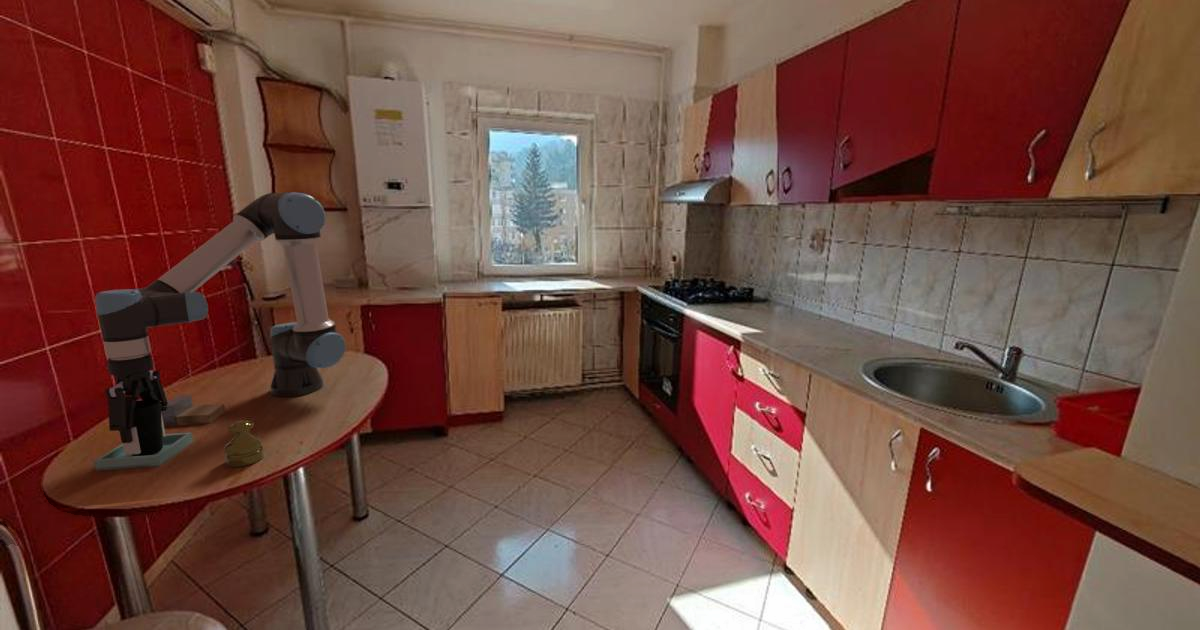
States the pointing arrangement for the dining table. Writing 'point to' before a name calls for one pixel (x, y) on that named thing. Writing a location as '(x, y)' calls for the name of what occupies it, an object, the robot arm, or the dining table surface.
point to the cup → (148, 426)
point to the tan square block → (200, 414)
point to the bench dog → (176, 409)
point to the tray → (122, 461)
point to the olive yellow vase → (243, 445)
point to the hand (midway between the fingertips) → (146, 444)
